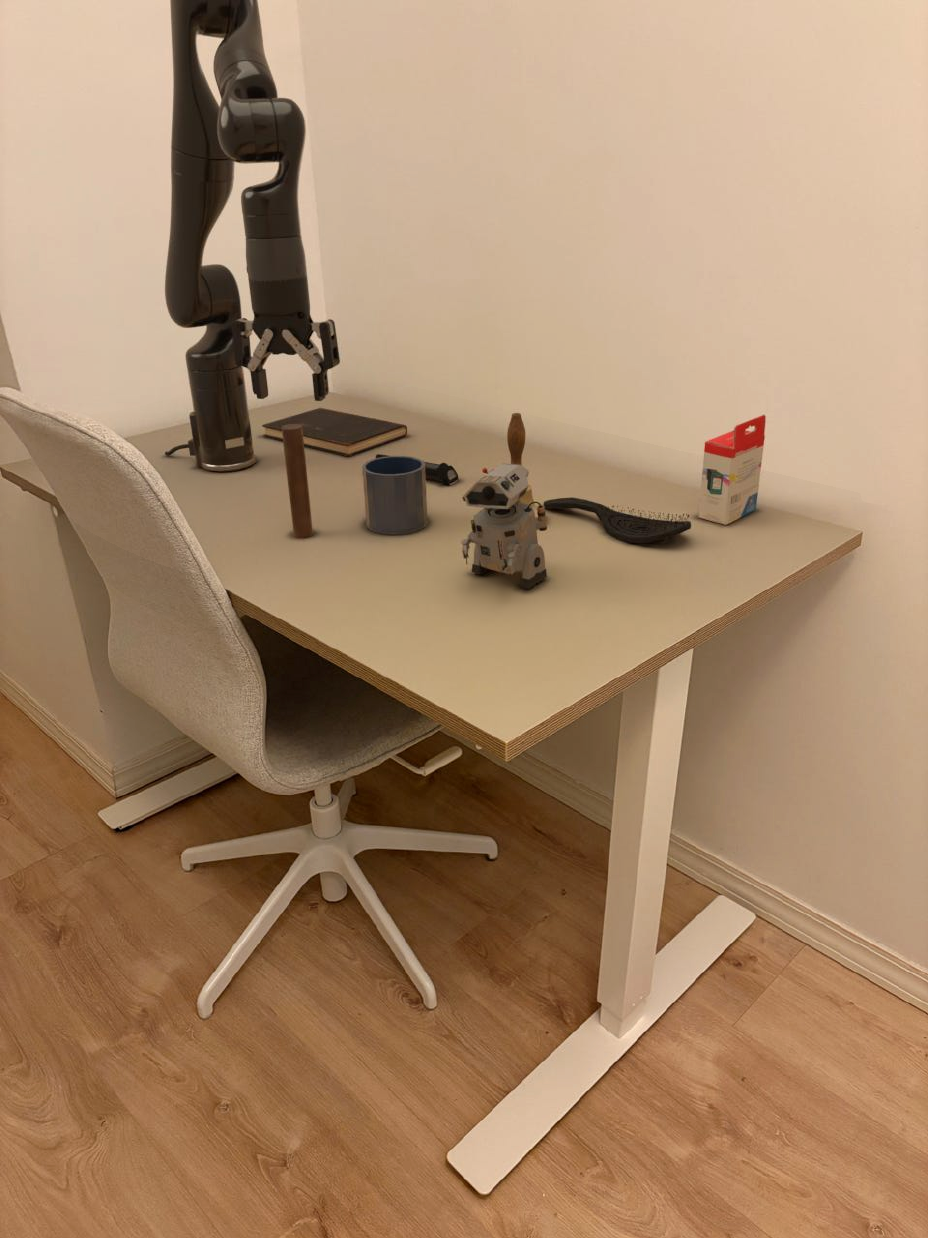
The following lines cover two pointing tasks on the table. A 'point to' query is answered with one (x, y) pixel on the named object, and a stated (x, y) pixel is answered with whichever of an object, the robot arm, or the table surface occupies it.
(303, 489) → the stick
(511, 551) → the figurine
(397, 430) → the hardcover book
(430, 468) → the electric trimmer
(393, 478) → the cup
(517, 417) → the hand bell
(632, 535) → the hairbrush
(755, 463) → the ink box
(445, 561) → the table surface
